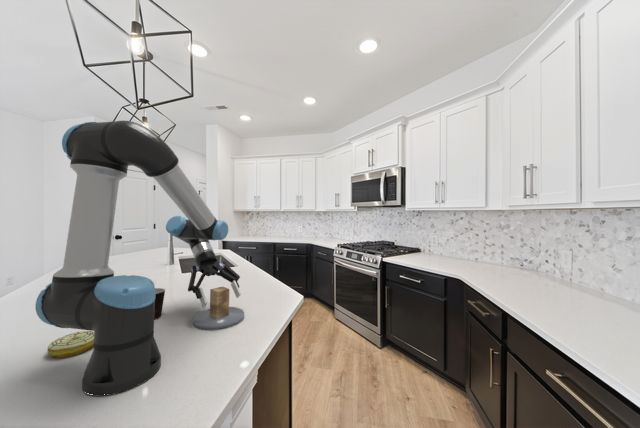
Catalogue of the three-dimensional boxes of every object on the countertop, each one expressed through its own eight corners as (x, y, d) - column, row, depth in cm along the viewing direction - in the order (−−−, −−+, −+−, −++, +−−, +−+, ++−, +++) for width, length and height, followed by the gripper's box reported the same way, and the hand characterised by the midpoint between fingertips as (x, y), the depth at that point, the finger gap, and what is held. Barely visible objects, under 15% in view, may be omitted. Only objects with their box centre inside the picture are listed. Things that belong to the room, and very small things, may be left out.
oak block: (216, 319, 90) (217, 291, 90) (209, 315, 93) (210, 289, 94) (228, 315, 94) (229, 289, 94) (222, 311, 97) (222, 286, 97)
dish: (207, 335, 81) (208, 330, 81) (184, 320, 92) (184, 316, 92) (253, 318, 95) (253, 314, 95) (228, 307, 106) (228, 303, 106)
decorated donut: (104, 337, 79) (104, 325, 79) (91, 354, 69) (91, 341, 69) (59, 344, 74) (60, 331, 74) (39, 363, 65) (39, 349, 65)
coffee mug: (169, 313, 98) (170, 288, 98) (152, 323, 89) (153, 295, 90) (142, 312, 99) (143, 287, 99) (123, 321, 91) (124, 293, 91)
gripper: (228, 257, 113) (247, 297, 104) (168, 265, 94) (184, 315, 84) (235, 247, 110) (255, 287, 101) (174, 253, 91) (192, 303, 81)
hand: (223, 300), depth 92 cm, fingers open, 13 cm apart
